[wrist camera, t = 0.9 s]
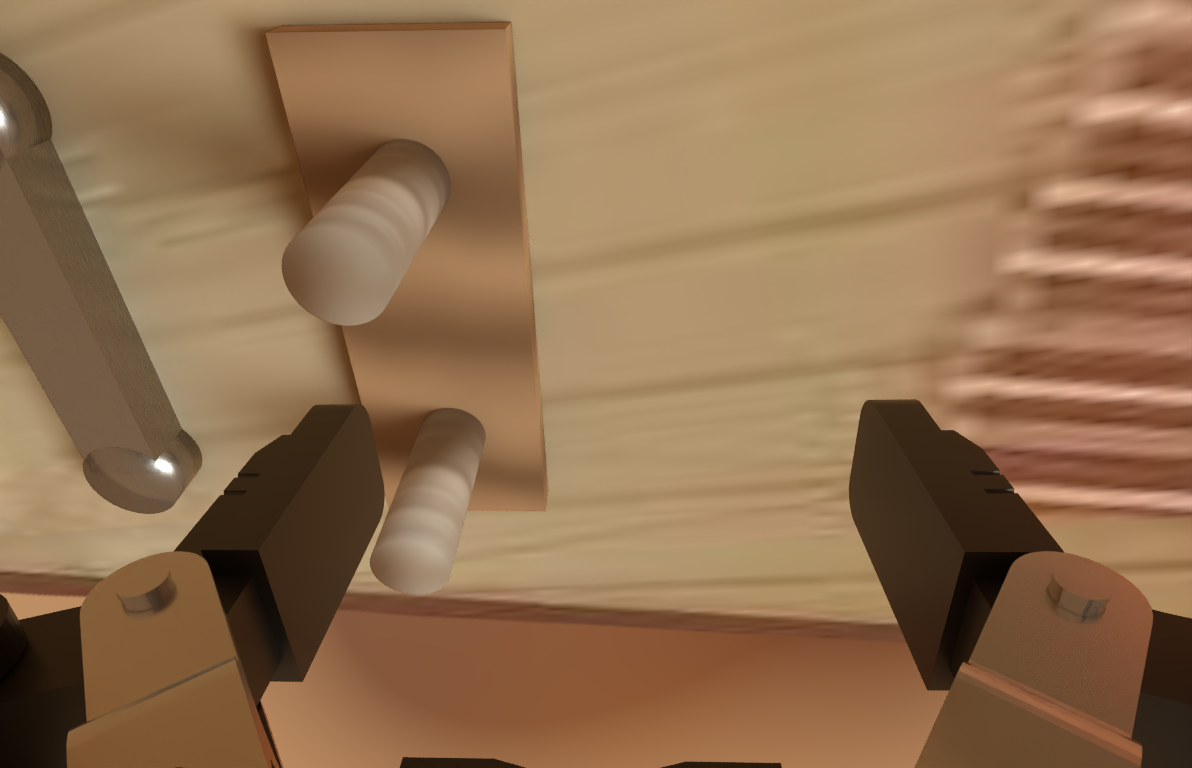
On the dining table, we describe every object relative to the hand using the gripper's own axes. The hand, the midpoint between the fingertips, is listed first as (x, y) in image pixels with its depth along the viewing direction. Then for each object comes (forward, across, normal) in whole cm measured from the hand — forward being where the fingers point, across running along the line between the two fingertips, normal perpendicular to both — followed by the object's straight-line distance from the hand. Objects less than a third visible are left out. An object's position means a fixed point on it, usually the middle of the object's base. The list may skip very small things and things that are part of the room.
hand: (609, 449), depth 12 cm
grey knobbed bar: (+19, +24, +4) cm, 31 cm away
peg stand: (+19, +8, +5) cm, 21 cm away
